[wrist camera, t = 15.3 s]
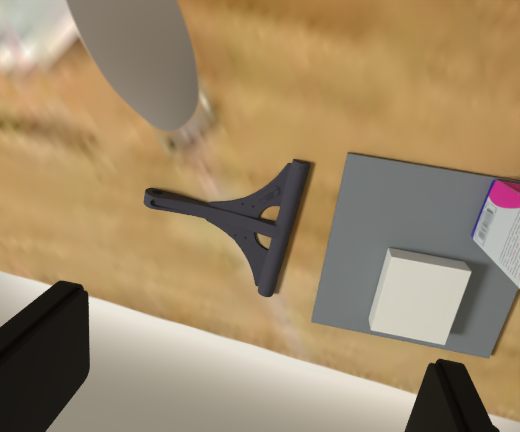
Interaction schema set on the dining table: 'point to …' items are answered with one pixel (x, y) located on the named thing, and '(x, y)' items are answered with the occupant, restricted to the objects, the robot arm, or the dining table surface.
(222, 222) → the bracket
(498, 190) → the supplement box
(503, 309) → the mat
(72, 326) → the robot arm
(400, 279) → the tile
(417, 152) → the dining table surface
